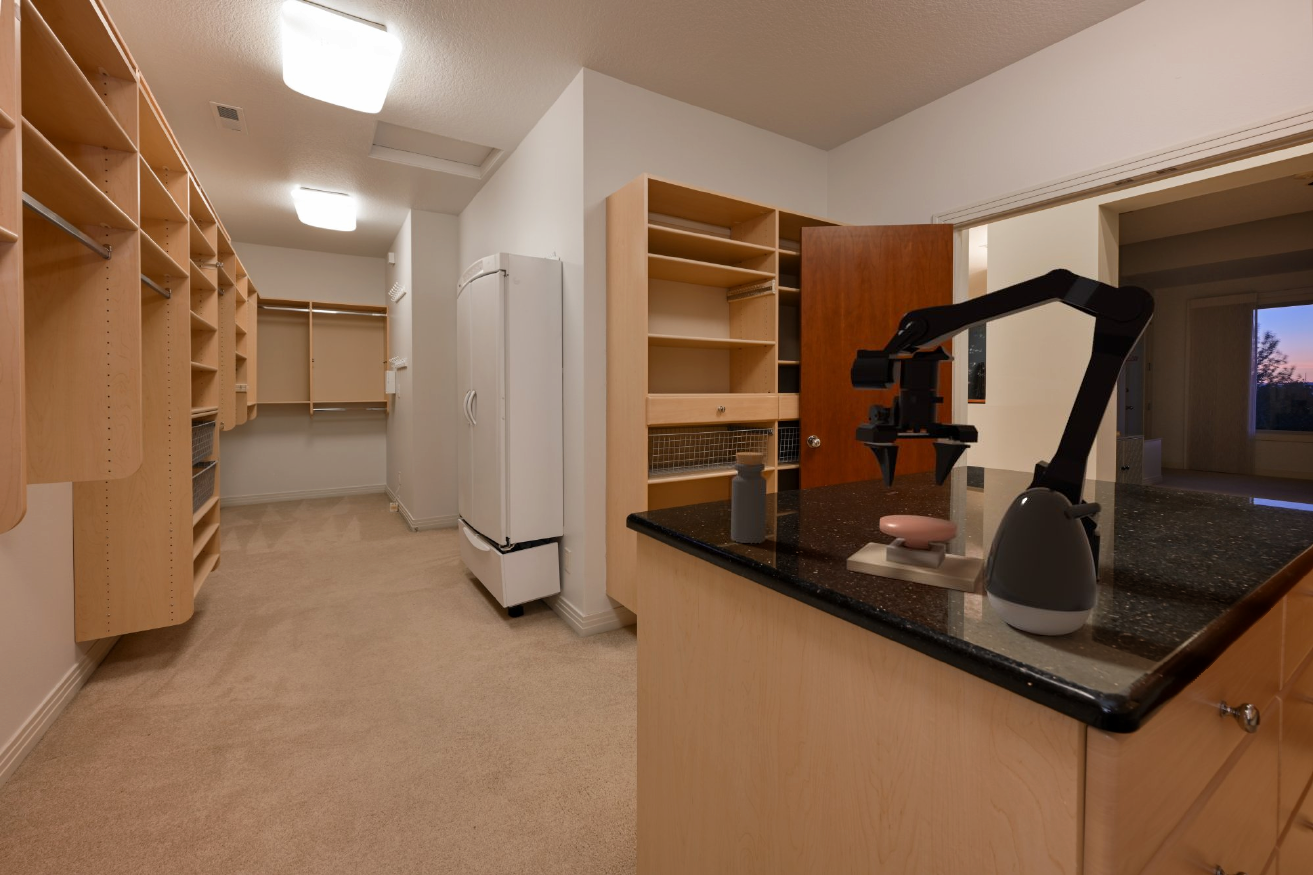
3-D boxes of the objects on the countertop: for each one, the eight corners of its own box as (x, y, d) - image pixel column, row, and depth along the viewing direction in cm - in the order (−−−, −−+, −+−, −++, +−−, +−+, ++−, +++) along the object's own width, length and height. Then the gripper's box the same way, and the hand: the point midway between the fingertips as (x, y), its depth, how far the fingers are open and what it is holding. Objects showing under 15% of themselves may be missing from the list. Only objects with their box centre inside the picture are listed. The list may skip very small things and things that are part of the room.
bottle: (765, 545, 95) (767, 455, 94) (729, 543, 96) (731, 454, 95) (765, 536, 101) (767, 452, 100) (732, 535, 102) (733, 451, 101)
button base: (984, 569, 83) (985, 545, 82) (973, 592, 73) (974, 565, 73) (869, 551, 92) (870, 529, 92) (846, 569, 82) (847, 545, 82)
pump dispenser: (1067, 655, 55) (1076, 499, 54) (962, 619, 64) (969, 484, 63) (1115, 633, 60) (1124, 491, 59) (1012, 602, 69) (1019, 478, 68)
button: (960, 543, 83) (961, 520, 83) (949, 559, 75) (950, 534, 75) (888, 533, 89) (889, 512, 89) (870, 547, 81) (871, 523, 81)
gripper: (936, 390, 102) (931, 477, 103) (840, 389, 98) (836, 479, 100) (983, 390, 91) (977, 488, 92) (877, 389, 88) (872, 490, 89)
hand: (913, 486), depth 94 cm, fingers open, 9 cm apart
